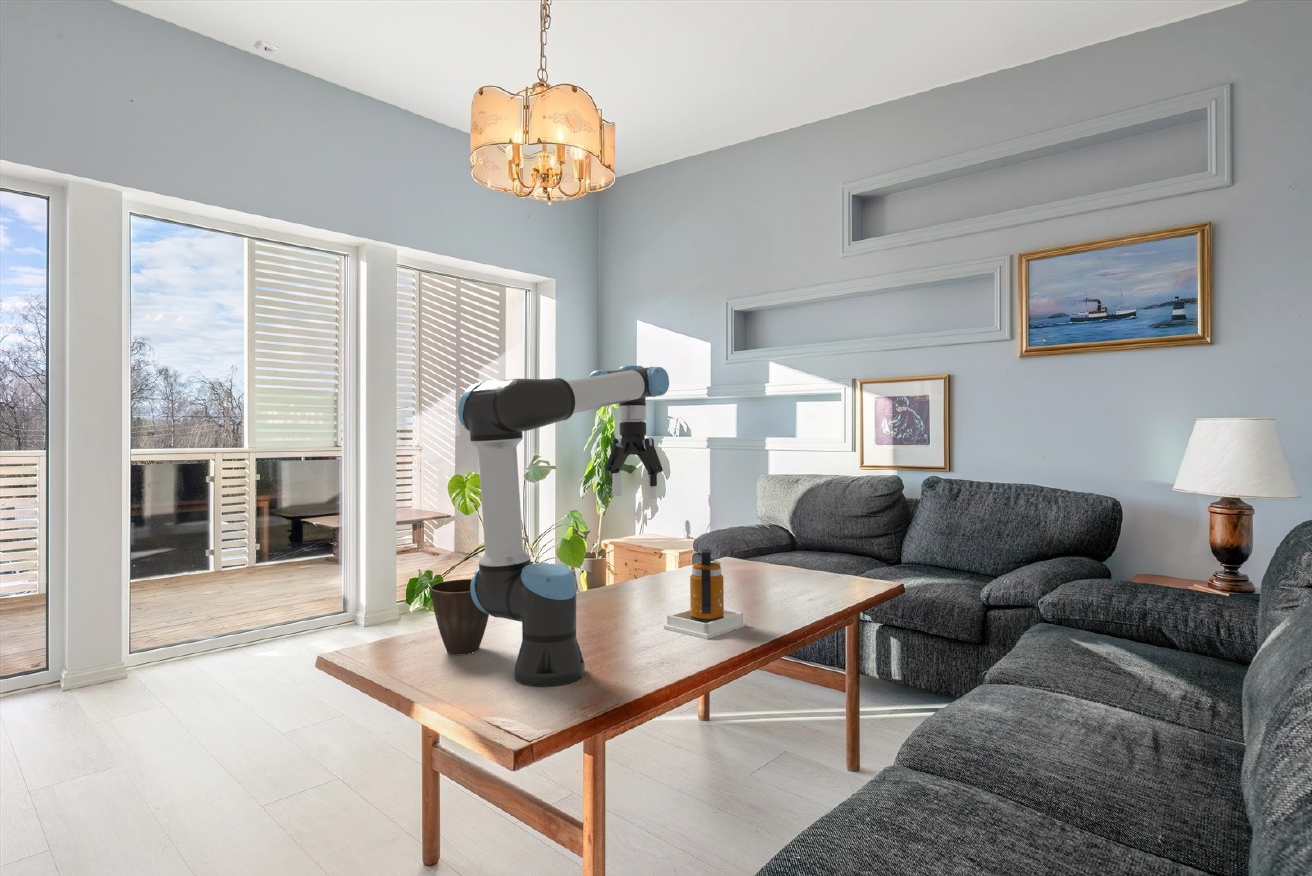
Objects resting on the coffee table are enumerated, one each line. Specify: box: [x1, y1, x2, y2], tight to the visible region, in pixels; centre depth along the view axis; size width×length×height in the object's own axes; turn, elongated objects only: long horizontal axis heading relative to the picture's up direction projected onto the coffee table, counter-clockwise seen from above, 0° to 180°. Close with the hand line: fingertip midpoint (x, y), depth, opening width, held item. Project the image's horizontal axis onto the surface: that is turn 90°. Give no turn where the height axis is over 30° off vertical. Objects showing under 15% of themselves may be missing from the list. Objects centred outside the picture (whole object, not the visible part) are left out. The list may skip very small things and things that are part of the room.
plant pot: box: [430, 578, 490, 656], centre depth 173 cm, size 15×15×16 cm
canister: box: [689, 548, 725, 623], centre depth 191 cm, size 9×11×20 cm
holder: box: [663, 608, 748, 640], centre depth 191 cm, size 17×15×4 cm
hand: (633, 497), depth 199 cm, fingers open, 13 cm apart
